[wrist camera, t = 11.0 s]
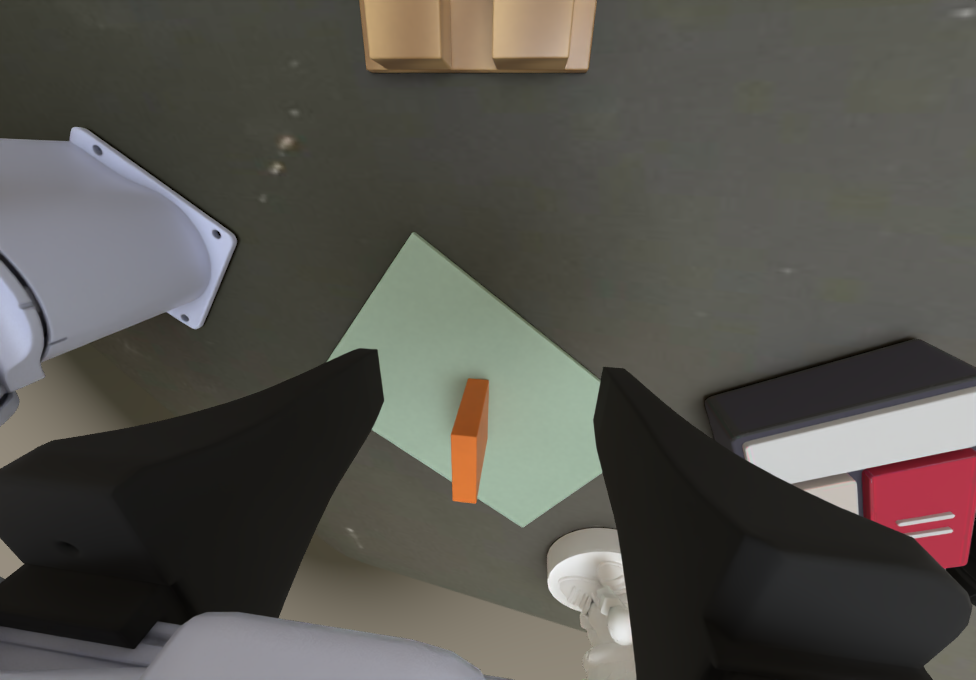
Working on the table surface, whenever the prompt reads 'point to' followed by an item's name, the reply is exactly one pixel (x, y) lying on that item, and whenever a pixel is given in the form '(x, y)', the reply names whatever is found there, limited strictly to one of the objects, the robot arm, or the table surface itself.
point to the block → (469, 441)
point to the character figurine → (595, 598)
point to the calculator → (870, 439)
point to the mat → (477, 355)
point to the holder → (477, 36)
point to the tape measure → (967, 570)
